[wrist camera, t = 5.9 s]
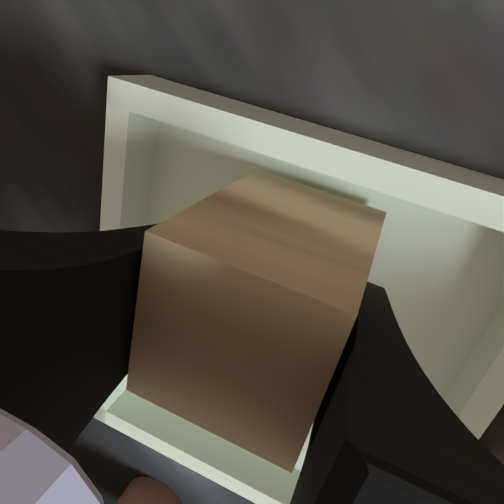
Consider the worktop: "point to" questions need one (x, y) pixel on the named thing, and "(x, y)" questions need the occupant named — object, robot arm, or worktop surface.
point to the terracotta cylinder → (147, 493)
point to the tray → (337, 183)
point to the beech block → (251, 309)
